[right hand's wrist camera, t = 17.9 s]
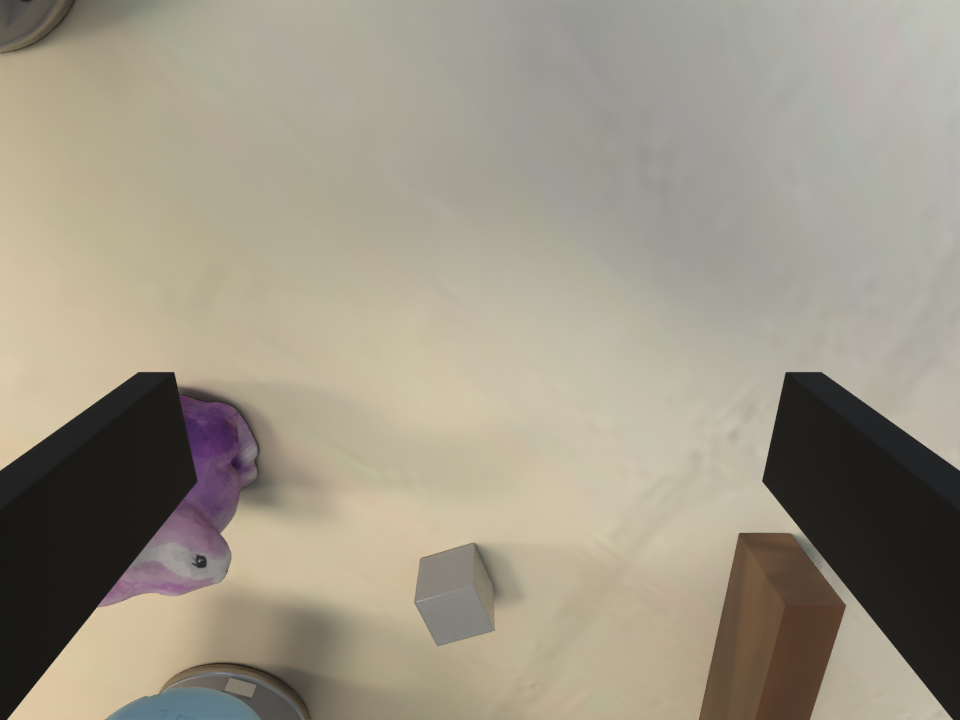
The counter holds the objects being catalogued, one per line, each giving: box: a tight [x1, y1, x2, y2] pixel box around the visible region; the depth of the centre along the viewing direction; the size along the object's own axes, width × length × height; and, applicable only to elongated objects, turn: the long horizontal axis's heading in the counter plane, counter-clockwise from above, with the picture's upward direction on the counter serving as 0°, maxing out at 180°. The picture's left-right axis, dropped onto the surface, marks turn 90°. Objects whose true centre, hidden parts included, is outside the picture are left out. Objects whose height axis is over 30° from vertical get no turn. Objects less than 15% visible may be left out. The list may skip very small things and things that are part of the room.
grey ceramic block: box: [414, 543, 495, 646], centre depth 48 cm, size 5×5×5 cm
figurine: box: [98, 395, 258, 607], centre depth 38 cm, size 9×10×15 cm
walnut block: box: [699, 533, 846, 720], centre depth 50 cm, size 4×26×8 cm, turn 179°
